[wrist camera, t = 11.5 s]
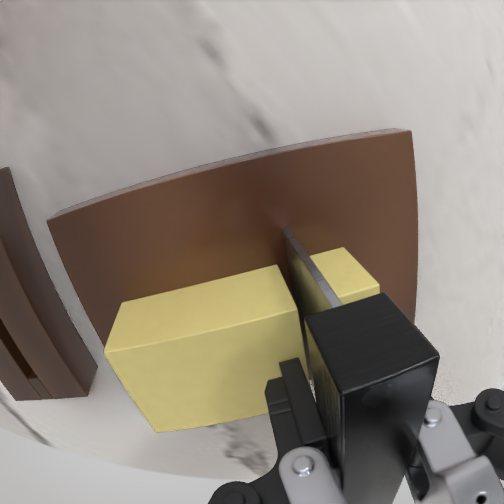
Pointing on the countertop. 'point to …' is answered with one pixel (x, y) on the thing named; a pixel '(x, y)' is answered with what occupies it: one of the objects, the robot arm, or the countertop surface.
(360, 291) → the butter slice
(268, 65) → the countertop surface
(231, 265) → the cutting board
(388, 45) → the countertop surface
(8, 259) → the knife stand
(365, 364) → the knife
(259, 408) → the butter block
